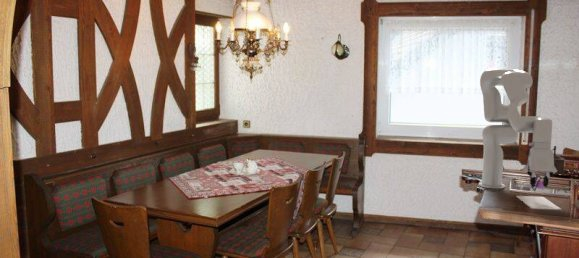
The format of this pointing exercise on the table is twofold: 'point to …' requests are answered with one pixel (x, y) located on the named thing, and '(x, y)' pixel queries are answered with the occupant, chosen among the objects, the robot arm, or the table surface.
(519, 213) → the table surface
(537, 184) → the purple block
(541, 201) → the mat
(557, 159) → the pepper mill
